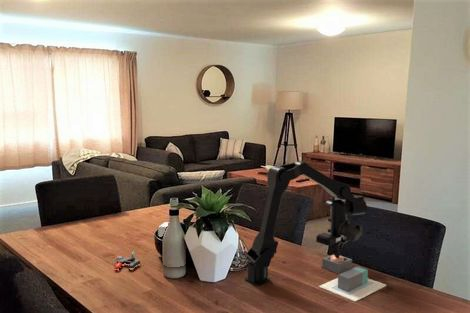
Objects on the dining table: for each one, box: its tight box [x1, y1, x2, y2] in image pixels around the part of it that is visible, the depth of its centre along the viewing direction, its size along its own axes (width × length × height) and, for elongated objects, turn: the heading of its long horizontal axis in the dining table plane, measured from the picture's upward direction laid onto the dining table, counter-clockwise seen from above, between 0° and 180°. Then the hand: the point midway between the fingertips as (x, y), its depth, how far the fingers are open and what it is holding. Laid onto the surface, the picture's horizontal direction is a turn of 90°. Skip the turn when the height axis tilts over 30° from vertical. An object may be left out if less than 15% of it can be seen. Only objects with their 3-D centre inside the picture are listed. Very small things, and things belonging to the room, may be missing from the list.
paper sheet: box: [318, 277, 387, 303], centre depth 144 cm, size 18×14×1 cm
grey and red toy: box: [114, 251, 141, 270], centre depth 161 cm, size 10×12×5 cm
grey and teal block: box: [337, 266, 369, 292], centre depth 144 cm, size 11×4×4 cm, turn 130°
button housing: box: [320, 253, 354, 275], centre depth 160 cm, size 8×8×4 cm
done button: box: [330, 254, 345, 263], centre depth 159 cm, size 5×5×3 cm
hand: (337, 257), depth 159 cm, fingers closed, pressing on done button
